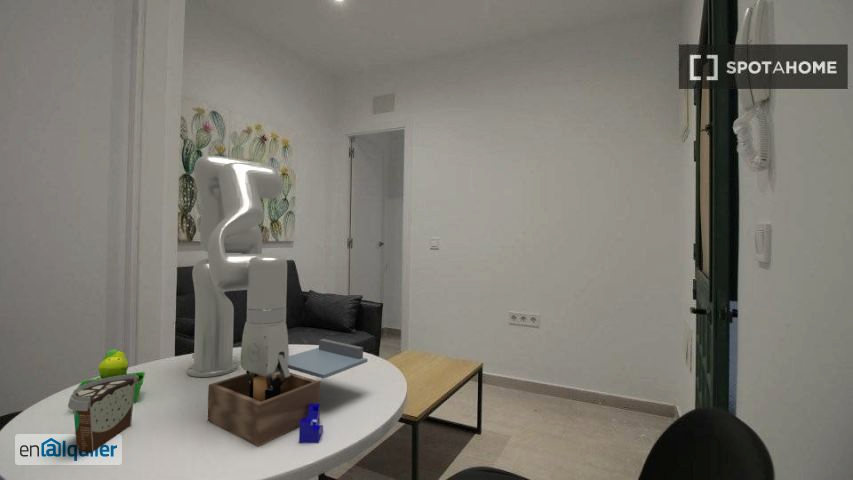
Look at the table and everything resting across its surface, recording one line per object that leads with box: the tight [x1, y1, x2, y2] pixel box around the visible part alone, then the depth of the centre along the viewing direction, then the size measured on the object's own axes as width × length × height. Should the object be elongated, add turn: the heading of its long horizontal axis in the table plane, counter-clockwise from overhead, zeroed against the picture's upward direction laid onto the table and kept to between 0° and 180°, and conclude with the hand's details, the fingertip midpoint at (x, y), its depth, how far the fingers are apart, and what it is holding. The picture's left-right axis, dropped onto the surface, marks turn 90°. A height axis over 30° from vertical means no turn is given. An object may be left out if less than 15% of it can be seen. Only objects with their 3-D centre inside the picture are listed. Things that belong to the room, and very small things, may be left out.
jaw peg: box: [253, 375, 276, 402], centre depth 77 cm, size 4×4×6 cm
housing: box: [207, 370, 321, 448], centre depth 77 cm, size 17×14×8 cm
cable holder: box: [298, 403, 324, 444], centre depth 73 cm, size 8×4×4 cm, turn 4°
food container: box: [67, 374, 137, 453], centre depth 68 cm, size 12×6×10 cm, turn 5°
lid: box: [288, 338, 368, 379], centre depth 90 cm, size 17×14×3 cm
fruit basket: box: [77, 349, 146, 404], centre depth 84 cm, size 11×9×11 cm
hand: (264, 403), depth 77 cm, fingers closed on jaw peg, 4 cm apart
